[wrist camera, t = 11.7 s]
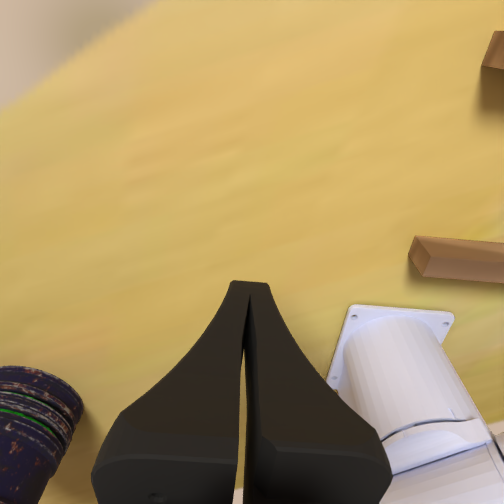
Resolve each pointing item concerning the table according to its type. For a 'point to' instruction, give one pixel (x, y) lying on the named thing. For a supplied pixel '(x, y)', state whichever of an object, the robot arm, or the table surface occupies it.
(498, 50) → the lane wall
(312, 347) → the table surface
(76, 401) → the storage jar
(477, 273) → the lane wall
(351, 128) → the table surface
